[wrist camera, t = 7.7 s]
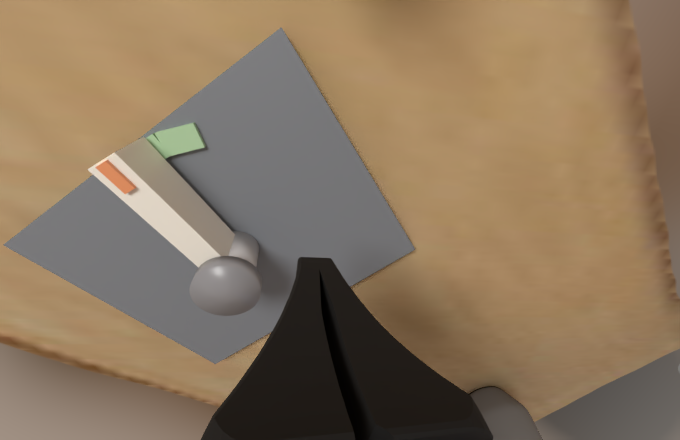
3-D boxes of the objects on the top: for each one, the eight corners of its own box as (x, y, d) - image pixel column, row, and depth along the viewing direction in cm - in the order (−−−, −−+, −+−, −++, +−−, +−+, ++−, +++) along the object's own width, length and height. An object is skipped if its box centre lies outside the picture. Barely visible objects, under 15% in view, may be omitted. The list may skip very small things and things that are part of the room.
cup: (507, 370, 39) (569, 458, 30) (511, 397, 44) (565, 479, 35) (445, 394, 40) (488, 487, 31) (456, 419, 44) (495, 504, 36)
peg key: (276, 253, 21) (273, 297, 17) (233, 277, 21) (221, 324, 18) (164, 123, 15) (122, 146, 11) (108, 159, 16) (50, 191, 12)
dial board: (410, 242, 24) (416, 251, 23) (217, 354, 27) (214, 367, 26) (281, 28, 15) (281, 26, 14) (16, 236, 18) (-2, 247, 17)
